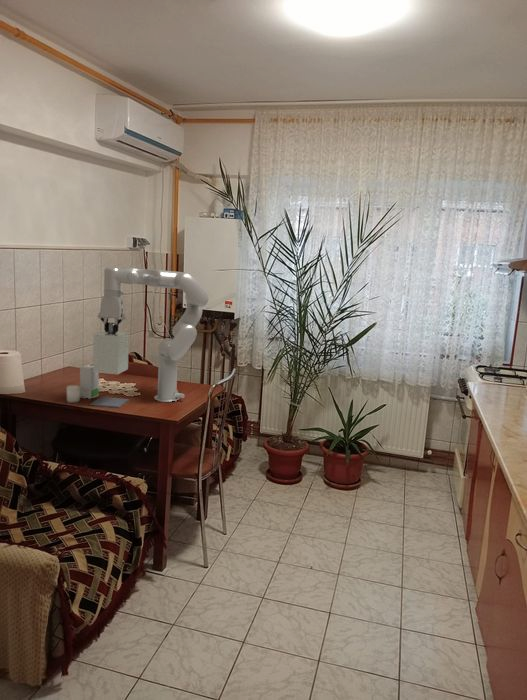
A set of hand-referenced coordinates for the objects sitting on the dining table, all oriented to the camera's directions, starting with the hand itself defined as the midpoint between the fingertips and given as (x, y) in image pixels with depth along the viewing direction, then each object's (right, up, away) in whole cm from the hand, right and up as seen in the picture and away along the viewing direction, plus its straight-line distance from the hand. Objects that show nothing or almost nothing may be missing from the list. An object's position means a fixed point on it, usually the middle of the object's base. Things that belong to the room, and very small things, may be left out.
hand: (111, 331), depth 257 cm
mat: (-2, -35, +6) cm, 35 cm away
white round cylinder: (-20, -33, +6) cm, 40 cm away
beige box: (-1, -19, +4) cm, 19 cm away
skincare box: (-16, -32, +15) cm, 39 cm away
